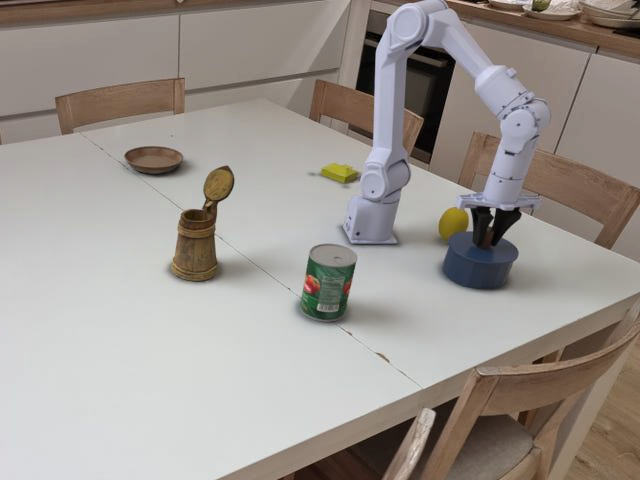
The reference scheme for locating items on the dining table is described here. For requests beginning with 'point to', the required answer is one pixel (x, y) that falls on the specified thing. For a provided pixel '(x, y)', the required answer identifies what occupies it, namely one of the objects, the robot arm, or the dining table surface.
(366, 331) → the dining table surface
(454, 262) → the pot
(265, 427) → the dining table surface
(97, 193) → the dining table surface
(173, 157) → the saucer
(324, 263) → the canned tomato
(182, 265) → the wooden mug
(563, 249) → the dining table surface
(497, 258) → the pot lid
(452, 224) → the lemon
